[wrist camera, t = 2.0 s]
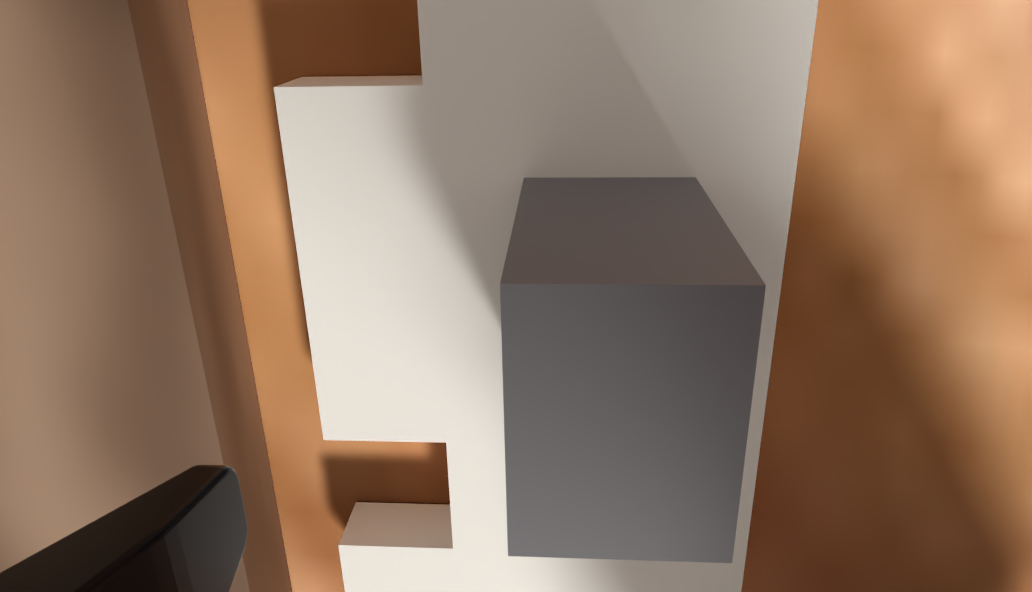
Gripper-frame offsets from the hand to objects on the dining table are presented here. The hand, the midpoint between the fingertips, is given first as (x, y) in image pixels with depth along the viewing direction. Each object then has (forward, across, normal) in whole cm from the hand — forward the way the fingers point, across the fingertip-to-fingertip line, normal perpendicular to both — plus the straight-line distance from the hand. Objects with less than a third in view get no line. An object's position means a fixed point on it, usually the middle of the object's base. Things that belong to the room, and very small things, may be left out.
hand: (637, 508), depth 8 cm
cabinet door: (+8, +1, 0) cm, 8 cm away
